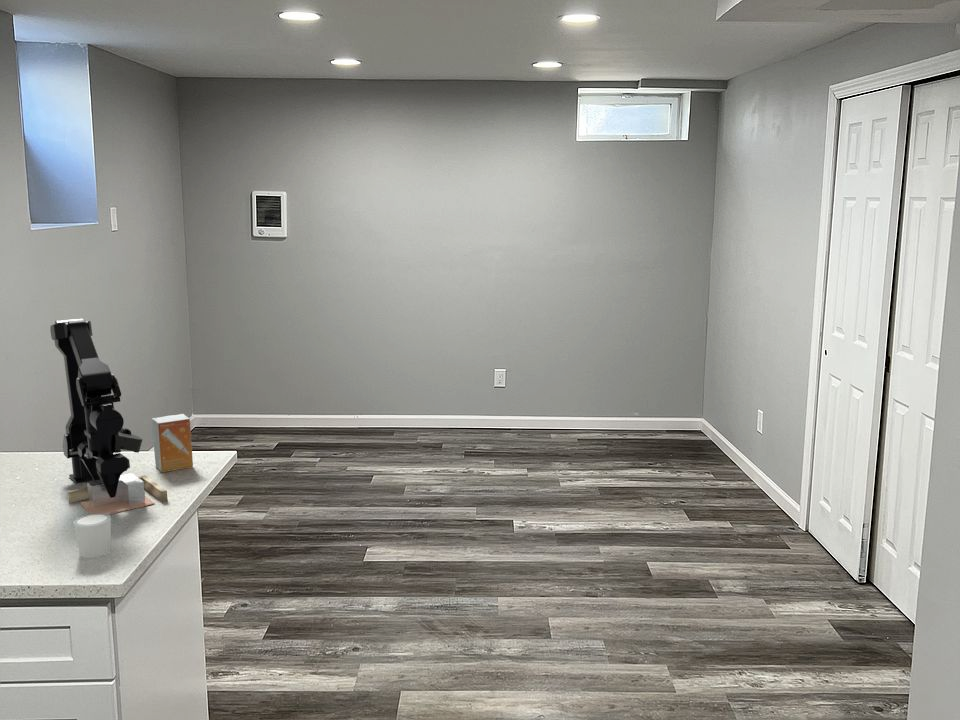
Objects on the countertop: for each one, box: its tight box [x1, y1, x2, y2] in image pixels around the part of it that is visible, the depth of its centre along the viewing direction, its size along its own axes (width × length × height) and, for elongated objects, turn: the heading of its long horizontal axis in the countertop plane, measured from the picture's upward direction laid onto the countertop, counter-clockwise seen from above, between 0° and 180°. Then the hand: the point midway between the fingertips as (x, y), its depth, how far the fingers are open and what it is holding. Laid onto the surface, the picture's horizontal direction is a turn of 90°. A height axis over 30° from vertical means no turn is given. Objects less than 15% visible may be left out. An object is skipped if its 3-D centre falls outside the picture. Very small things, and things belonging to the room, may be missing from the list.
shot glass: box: [72, 513, 112, 559], centre depth 177 cm, size 7×7×7 cm
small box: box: [151, 413, 194, 473], centre depth 230 cm, size 8×6×13 cm
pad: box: [80, 495, 155, 515], centre depth 205 cm, size 11×13×1 cm
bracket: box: [86, 473, 146, 507], centre depth 204 cm, size 10×8×5 cm
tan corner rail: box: [67, 474, 169, 504], centre depth 207 cm, size 15×18×2 cm
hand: (106, 491), depth 205 cm, fingers open, 9 cm apart
